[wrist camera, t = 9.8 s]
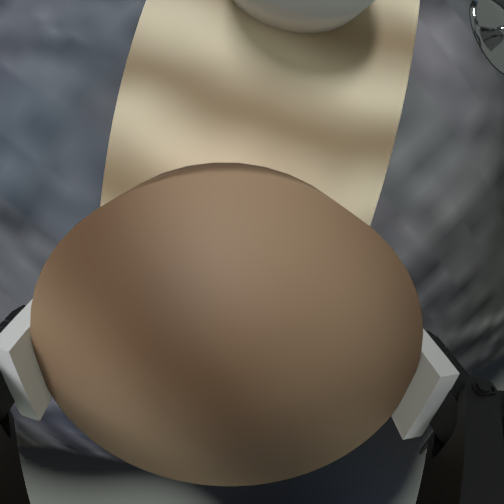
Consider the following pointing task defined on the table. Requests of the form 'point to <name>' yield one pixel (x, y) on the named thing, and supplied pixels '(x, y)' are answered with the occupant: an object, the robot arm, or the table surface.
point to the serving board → (263, 97)
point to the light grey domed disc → (303, 13)
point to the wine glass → (489, 30)
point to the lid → (226, 326)
